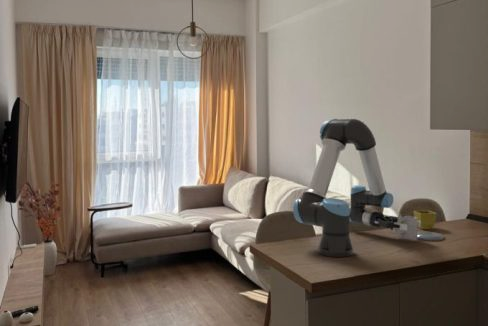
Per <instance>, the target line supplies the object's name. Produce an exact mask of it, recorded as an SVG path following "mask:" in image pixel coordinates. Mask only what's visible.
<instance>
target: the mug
mask: <svg viewBox="0 0 488 326" xmlns="http://www.w3.org/2000/svg"><path fill="white" fill-rule="evenodd" d="M401 222H402V224H406V225H407V231H405V230H400V229H395V234H396V236H397V237H401V238H402V239H405V240H418V239H417V236H418V234H417V231H418V227H417V218H416V217H414V215H413V216H411V215H405V216H402V214H401V213H398V220H397V223H401Z"/></svg>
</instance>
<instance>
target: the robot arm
mask: <svg viewBox="0 0 488 326" xmlns="http://www.w3.org/2000/svg"><path fill="white" fill-rule="evenodd" d="M319 138H320V140H321V144H322V148H321V151H320V153H319V154H320V155H319V156H318V160H317V162H316V166H315V169H314V171H313V174H312V177H311V179H310V180H311V181H310V183H309V185H308V189H307V190H305V191H304V192H303V193H302V196H301V197H298V198H297V199H295V201H294V203H293V206H292V211H293V212H292V213H293V216H294V218H295V220H296V221H297V222H299V223H300V224H304V225H310V226H316V227H320V228H321V229H322V230H321V231H322V234H321V237H320V241H319V244H318V247H317V250H318V251H317V252H318V254H319V255H322V256H325V257H330V258H346V257H350V256H351V257H352V256H353V254H354V248H353V247H354V246H353V244H352V241H351V238H350V222H351V223H356V224H360V225H365V226H367V227H375V228H381V227H382V228H386V229H390V230H394V229H395V230H396V229H400V230H405V231H407V225H406V224H402V222H401V223H397V220H398V217H399V216H398V217H397V216H393V215H392V216H391V215H389V216H388V215H386V216H385V215H384V213H383V212H382V211H381V212H380V211H374V210H369V209H366V206H371V207H376V208H377V207H378V208H384V209H389V208H391V207H392V205H393V204H394V196H393V194H392V193H390V192H387V190H386V185H385V181H384V178H383V174H382V170H381V167H380V164H379V159H378V154H377V152H376V148H375V147H376V145H377V142H376V139H375V136H374V134H373V132H372V130H371V129H370V128H369V127H368V125H367V124H365V122H363V121H361V120H360V119H356V118H346V119H345V118H341V119H340V118H339V119H338V118H333V119H327V120H325V121H324V122H323V123H322V125H321V126H320V130H319ZM347 144H352V145H354V148H355V150H356V151H358V154H359V156H360V160H361V164H362V168H363V171H364V174H365V178H366V181H367V185H368V188H369V190H367V187H366V186H365V185H353V186H351V187H350V204H349V202H347V201H345V200H343V199H340V198H333V197H327V193H328V190H329V187H330V183H331V181H332V178H333V175H334V172H335V169H336V166H337V163H338V160H339V156H340V154H341V152H342V151H344V150H345V149H346V146H347ZM420 224H421V221H417V228H418V227H420Z"/></svg>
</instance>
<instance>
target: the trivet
mask: <svg viewBox="0 0 488 326" xmlns="http://www.w3.org/2000/svg"><path fill="white" fill-rule="evenodd" d="M417 234H418V236H417V239H416V240H418V241H426V242H439V241H443V240H444V235H443V234H442V233H440V232H439V233H438V232H436V231H435V232H434V231H426V230H422V231H421V230H419V231H418V230H417Z"/></svg>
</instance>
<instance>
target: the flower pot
mask: <svg viewBox="0 0 488 326" xmlns="http://www.w3.org/2000/svg"><path fill="white" fill-rule="evenodd" d="M437 215H438V214H437V212H434V211H431V210H429V209H428V210H413V217H416V218H417V221H421V224H420V227H417V229H418V228H419V229H421V230H431V229H433V227H434V226H435V224H436V221H437V220H436V219H437Z"/></svg>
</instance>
